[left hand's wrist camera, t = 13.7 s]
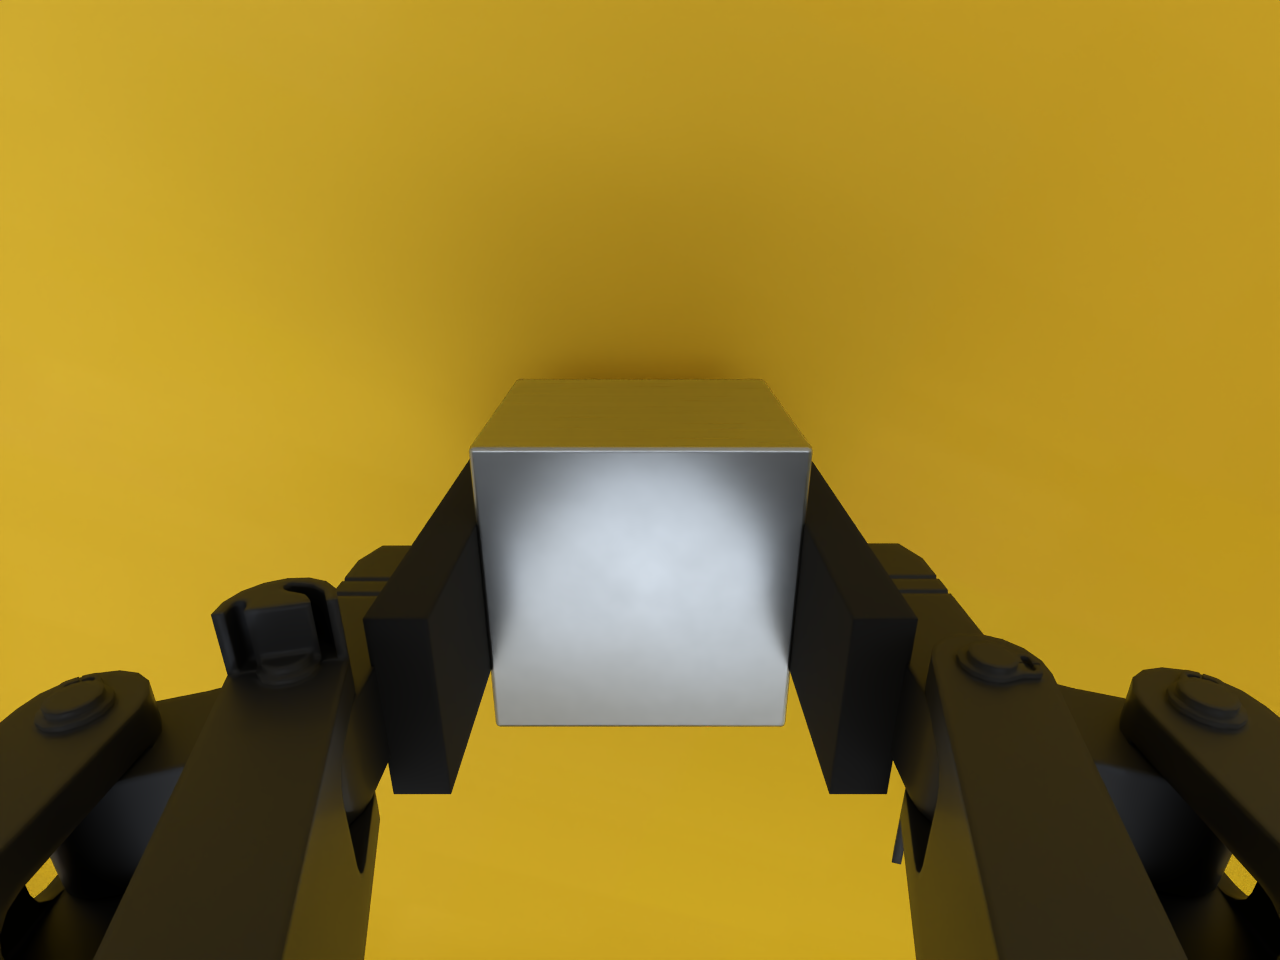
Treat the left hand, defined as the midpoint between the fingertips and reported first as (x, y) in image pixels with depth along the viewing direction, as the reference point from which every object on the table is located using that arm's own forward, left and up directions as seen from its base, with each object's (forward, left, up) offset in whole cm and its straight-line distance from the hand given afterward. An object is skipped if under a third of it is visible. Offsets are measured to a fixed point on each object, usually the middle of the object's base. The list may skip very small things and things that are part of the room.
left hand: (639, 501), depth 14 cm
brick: (0, 0, 0) cm, 0 cm away
